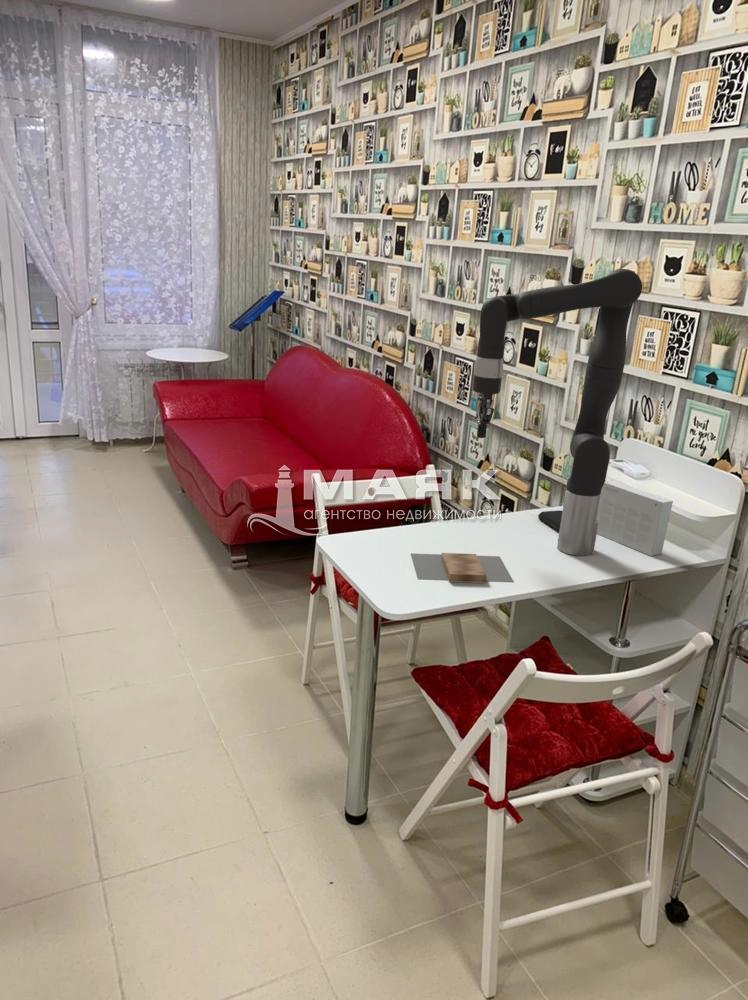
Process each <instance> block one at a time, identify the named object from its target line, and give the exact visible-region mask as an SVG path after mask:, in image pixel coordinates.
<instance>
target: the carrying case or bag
mask: <svg viewBox="0 0 748 1000" xmlns="http://www.w3.org/2000/svg"><path fill="white" fill-rule="evenodd" d="M562 511H563V510H547V511H541V512H540V513H539V514H538V515H537V518H538V519H539V520H540V522H542V523H543V524H545V525H546V526H548V527H550V528H551V529H553V531H556V532H557V533H559V531H560V524H561V518H562Z"/></svg>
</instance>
